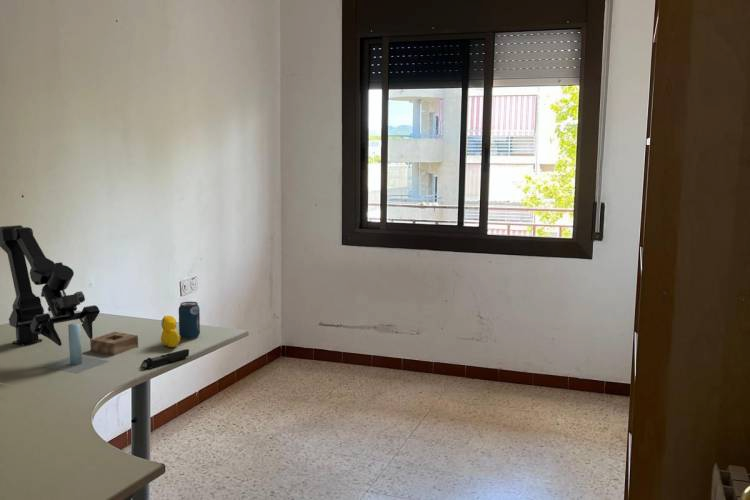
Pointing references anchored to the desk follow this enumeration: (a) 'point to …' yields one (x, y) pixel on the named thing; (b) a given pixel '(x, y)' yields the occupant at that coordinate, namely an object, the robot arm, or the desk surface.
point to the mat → (65, 365)
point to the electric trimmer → (164, 359)
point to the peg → (75, 344)
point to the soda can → (189, 320)
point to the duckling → (169, 332)
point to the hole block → (114, 343)
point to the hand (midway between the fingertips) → (76, 341)
